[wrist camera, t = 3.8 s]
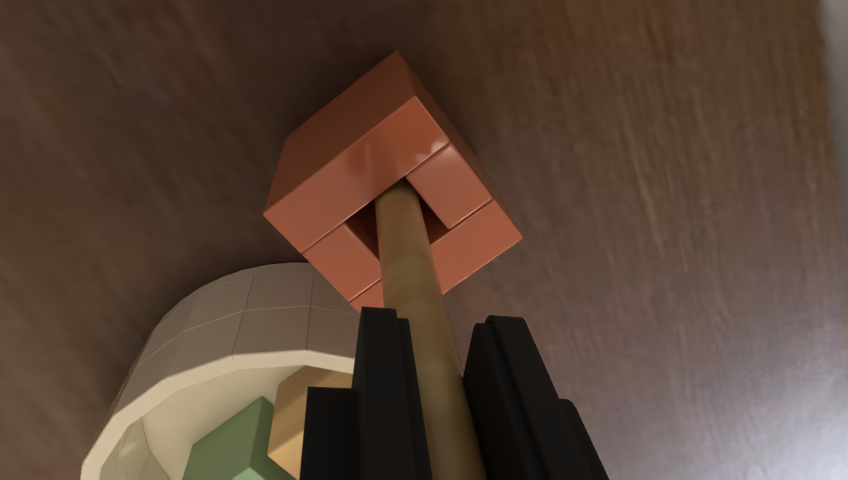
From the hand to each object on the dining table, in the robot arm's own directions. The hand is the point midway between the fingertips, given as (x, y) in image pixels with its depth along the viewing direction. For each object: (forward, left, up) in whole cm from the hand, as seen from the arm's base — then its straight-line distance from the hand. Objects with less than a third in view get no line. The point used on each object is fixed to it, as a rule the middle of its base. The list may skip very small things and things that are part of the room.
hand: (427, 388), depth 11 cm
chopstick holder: (0, 0, -14) cm, 14 cm away
